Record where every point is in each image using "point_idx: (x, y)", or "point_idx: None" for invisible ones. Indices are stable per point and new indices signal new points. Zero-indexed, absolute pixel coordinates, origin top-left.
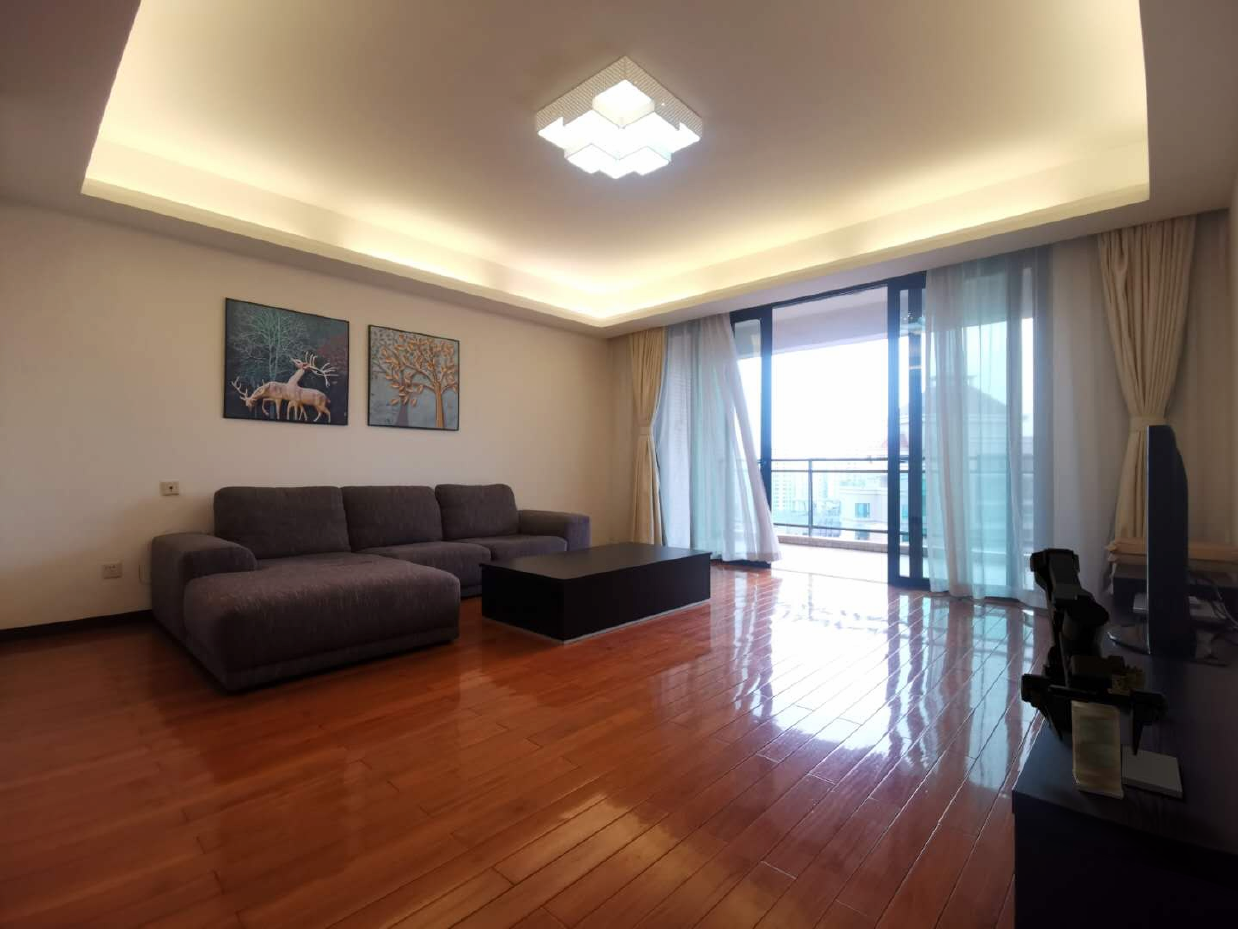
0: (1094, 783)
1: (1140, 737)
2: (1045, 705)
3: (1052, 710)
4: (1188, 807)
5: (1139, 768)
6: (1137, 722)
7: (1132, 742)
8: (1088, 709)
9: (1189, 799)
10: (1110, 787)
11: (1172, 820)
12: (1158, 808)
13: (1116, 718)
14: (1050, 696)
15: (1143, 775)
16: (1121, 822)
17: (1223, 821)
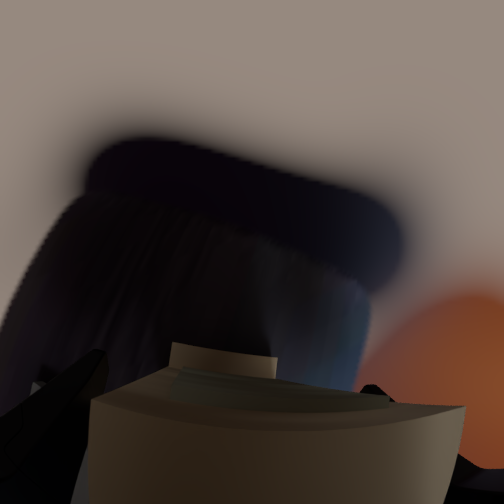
0: (233, 372)
1: (42, 386)
2: (473, 465)
3: None
4: (45, 347)
5: (86, 491)
6: (5, 446)
7: (89, 379)
8: (383, 422)
9: (29, 387)
10: (196, 361)
11: (106, 272)
12: (108, 324)
13: (134, 396)
14: (500, 484)
15: (86, 457)
16: (222, 228)
17: (16, 299)
